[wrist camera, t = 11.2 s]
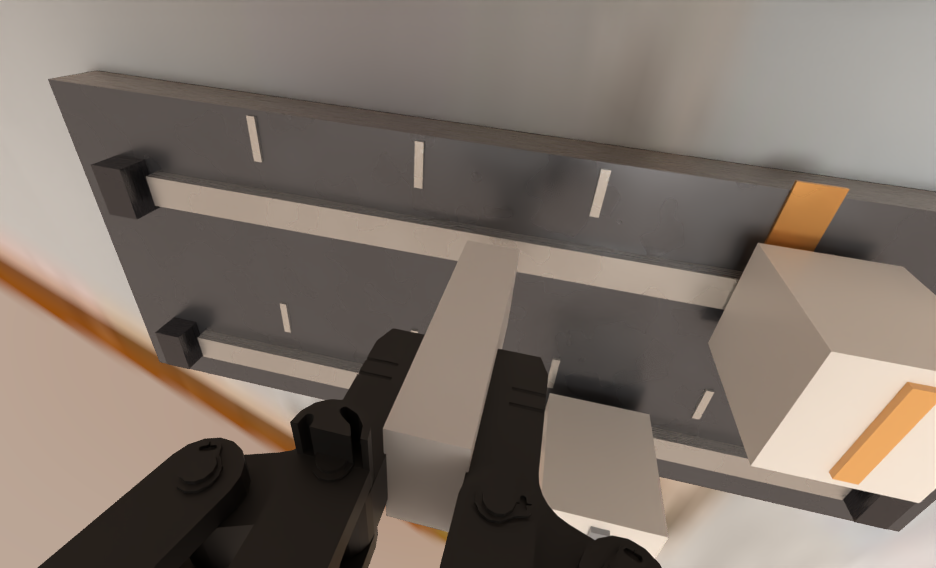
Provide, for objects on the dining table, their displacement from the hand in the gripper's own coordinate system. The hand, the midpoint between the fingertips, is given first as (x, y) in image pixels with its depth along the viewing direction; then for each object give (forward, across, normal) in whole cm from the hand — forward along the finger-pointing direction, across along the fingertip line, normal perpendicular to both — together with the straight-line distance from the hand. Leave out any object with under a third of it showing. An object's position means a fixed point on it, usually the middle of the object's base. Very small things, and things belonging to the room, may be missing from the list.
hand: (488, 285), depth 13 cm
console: (+5, +1, -4) cm, 7 cm away
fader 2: (+3, +10, 0) cm, 10 cm away
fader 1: (+3, +5, -9) cm, 10 cm away
